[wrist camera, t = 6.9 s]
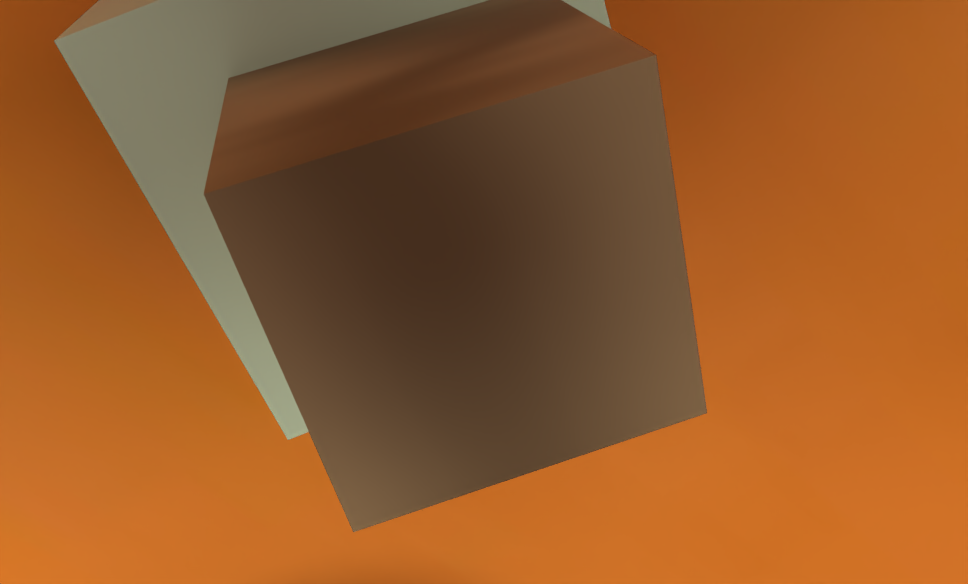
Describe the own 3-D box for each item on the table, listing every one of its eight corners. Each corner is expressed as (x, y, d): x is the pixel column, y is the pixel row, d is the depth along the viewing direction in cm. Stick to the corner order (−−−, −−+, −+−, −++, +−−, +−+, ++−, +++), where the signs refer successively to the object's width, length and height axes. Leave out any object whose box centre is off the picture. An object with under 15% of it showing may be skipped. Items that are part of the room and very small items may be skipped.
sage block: (504, -160, 16) (564, -158, 13) (607, 207, 20) (674, 284, 17) (102, -4, 16) (53, 41, 13) (286, 335, 20) (287, 440, 17)
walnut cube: (536, -14, 14) (656, 55, 9) (592, 258, 16) (707, 412, 12) (228, 78, 13) (203, 194, 9) (332, 340, 16) (353, 532, 11)
